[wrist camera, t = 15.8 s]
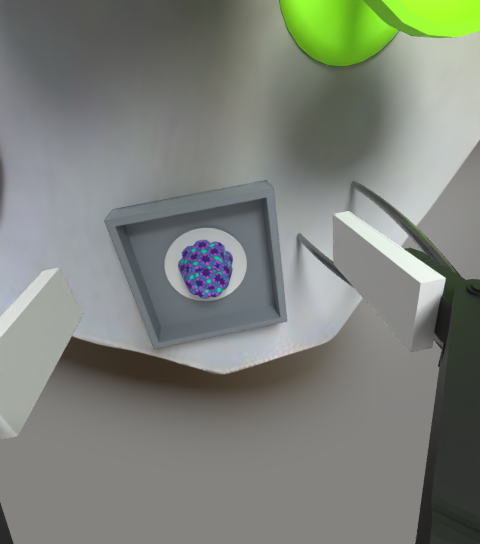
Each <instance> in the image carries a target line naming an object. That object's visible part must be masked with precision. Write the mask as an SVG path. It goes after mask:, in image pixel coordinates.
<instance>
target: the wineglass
mask: <svg viewBox="0 0 480 544" xmlns="http://www.w3.org/2000/svg"><path fill="white" fill-rule="evenodd" d="M279 1H280V9H281V11H282V14H283V17H284V20H285V23H286V26H287V28H288V31H289V32H290V34H291V35H292V37H293V38H294V40H295V41H296V43H297V44H298V46H299V47H300V48H301V49H302V50H303V51H305V52H306V53H307V54H308V55H309V56H310V57H312V58H313V59H315V60H317V61H320V62H322V63H324V64H327V65H333V66H348V65H352V64H356V63H360V62H363V61H364V60H366V59H368V58H370V57H371V56H373V55H375V54H376V53H378V52H379V51H380V50H381V49H382V48H383V47H384V46H385V45H386V44H387V43H388V42H390V41H391V40H392V39H393V38H394V37H395V35H396V34H397V32H398V31H399V30H400V31H402V32H404V33H406V34H408V35H410V36H417V37H431V38H447V37H459V36H462V35H466V34H470V33H474V32H478V31H480V0H279Z"/></svg>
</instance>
